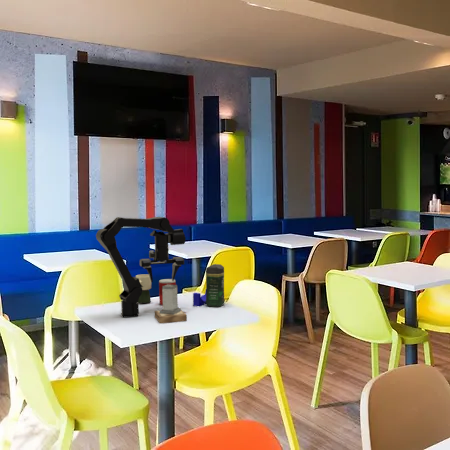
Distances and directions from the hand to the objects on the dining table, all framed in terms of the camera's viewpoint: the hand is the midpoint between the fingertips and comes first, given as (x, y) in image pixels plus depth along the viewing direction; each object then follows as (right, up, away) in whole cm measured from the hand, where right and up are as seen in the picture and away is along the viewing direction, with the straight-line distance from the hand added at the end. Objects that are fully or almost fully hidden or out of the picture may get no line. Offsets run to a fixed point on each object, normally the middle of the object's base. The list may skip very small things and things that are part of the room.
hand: (162, 281), depth 236 cm
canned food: (+1, -12, +15) cm, 19 cm away
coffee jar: (+23, -12, +12) cm, 28 cm away
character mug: (-11, -12, +17) cm, 24 cm away
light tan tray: (+5, -14, -13) cm, 20 cm away
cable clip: (+17, -12, +15) cm, 25 cm away
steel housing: (+5, -11, -13) cm, 18 cm away
